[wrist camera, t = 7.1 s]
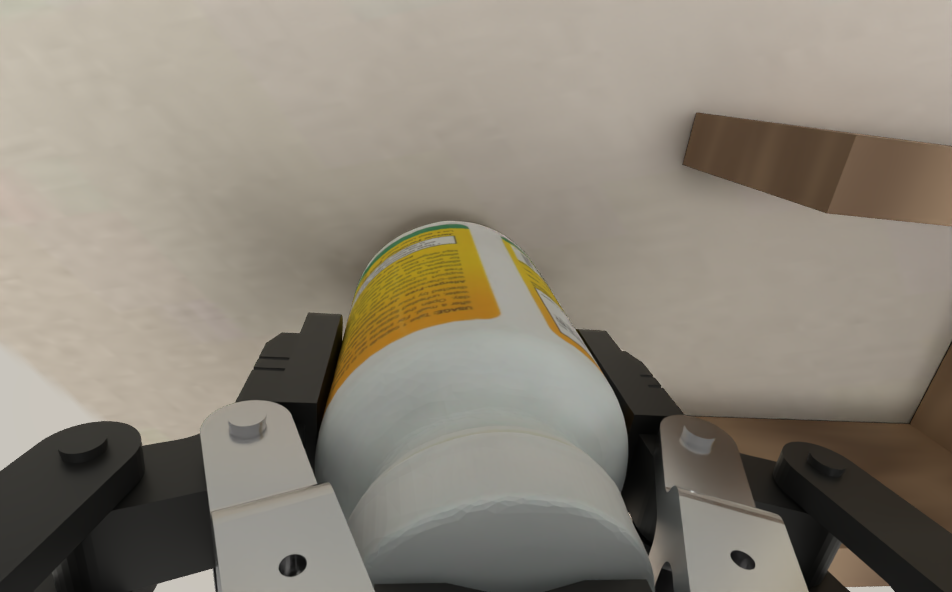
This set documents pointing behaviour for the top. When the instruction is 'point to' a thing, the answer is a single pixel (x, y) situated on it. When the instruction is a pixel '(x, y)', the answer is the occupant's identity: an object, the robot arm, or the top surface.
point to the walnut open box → (864, 195)
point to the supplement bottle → (474, 425)
